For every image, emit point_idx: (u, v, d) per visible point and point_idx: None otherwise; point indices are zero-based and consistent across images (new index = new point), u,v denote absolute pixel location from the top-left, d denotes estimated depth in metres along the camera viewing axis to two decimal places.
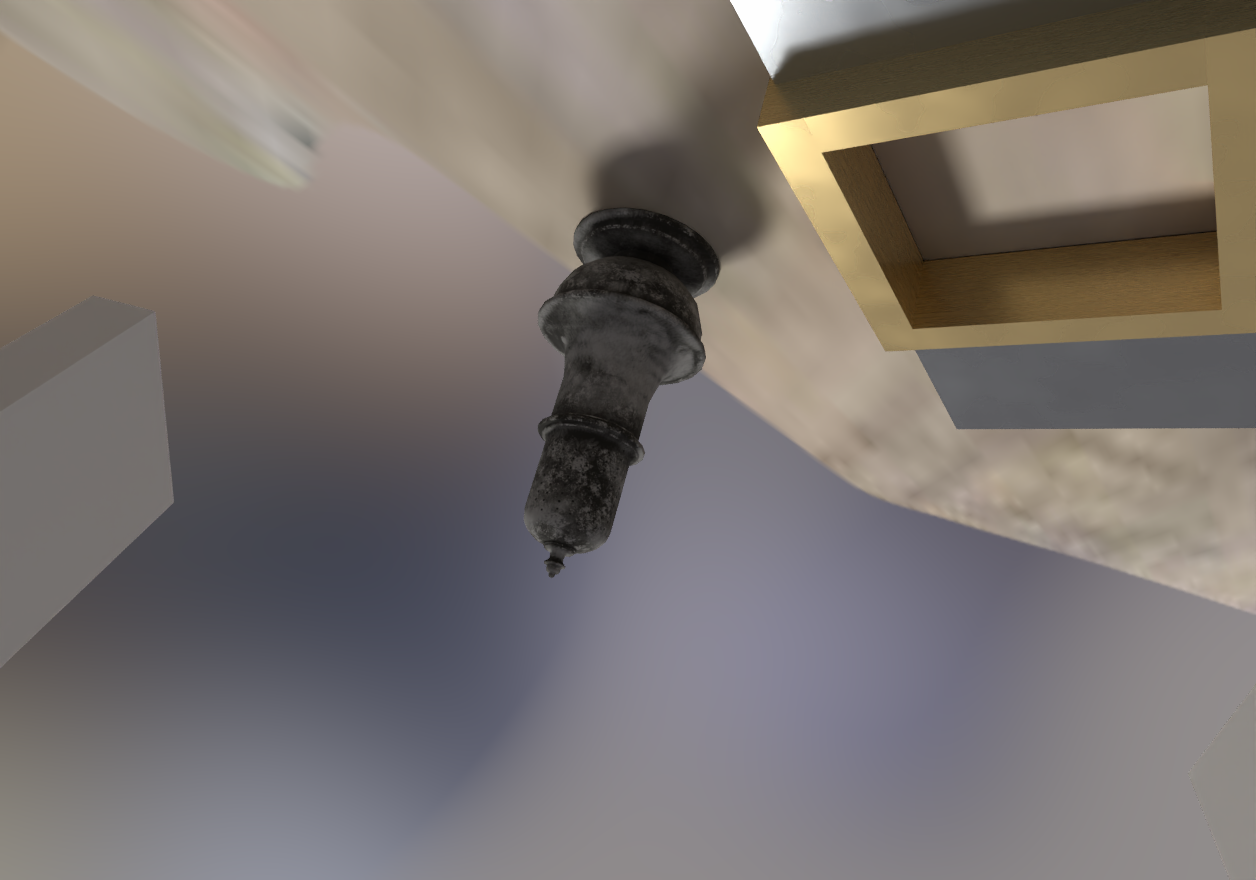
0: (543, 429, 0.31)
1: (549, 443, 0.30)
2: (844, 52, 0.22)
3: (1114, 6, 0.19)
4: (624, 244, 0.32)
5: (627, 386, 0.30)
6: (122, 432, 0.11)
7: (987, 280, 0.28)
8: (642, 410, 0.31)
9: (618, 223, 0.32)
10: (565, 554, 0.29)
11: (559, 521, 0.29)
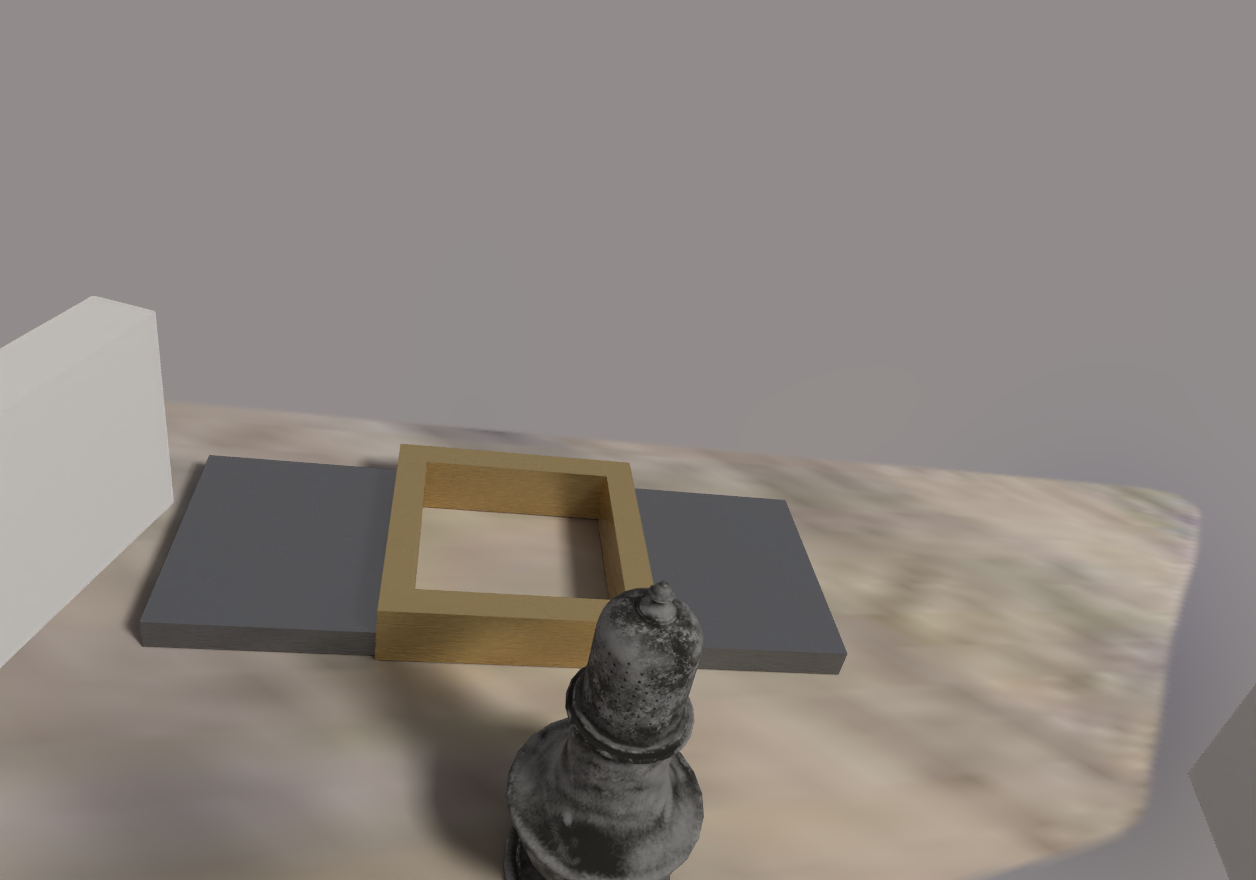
0: (590, 733, 0.25)
1: (590, 706, 0.25)
2: (368, 594, 0.36)
3: None
4: None
5: None
6: (122, 432, 0.11)
7: (614, 593, 0.39)
8: None
9: (516, 848, 0.30)
10: None
11: (609, 604, 0.25)
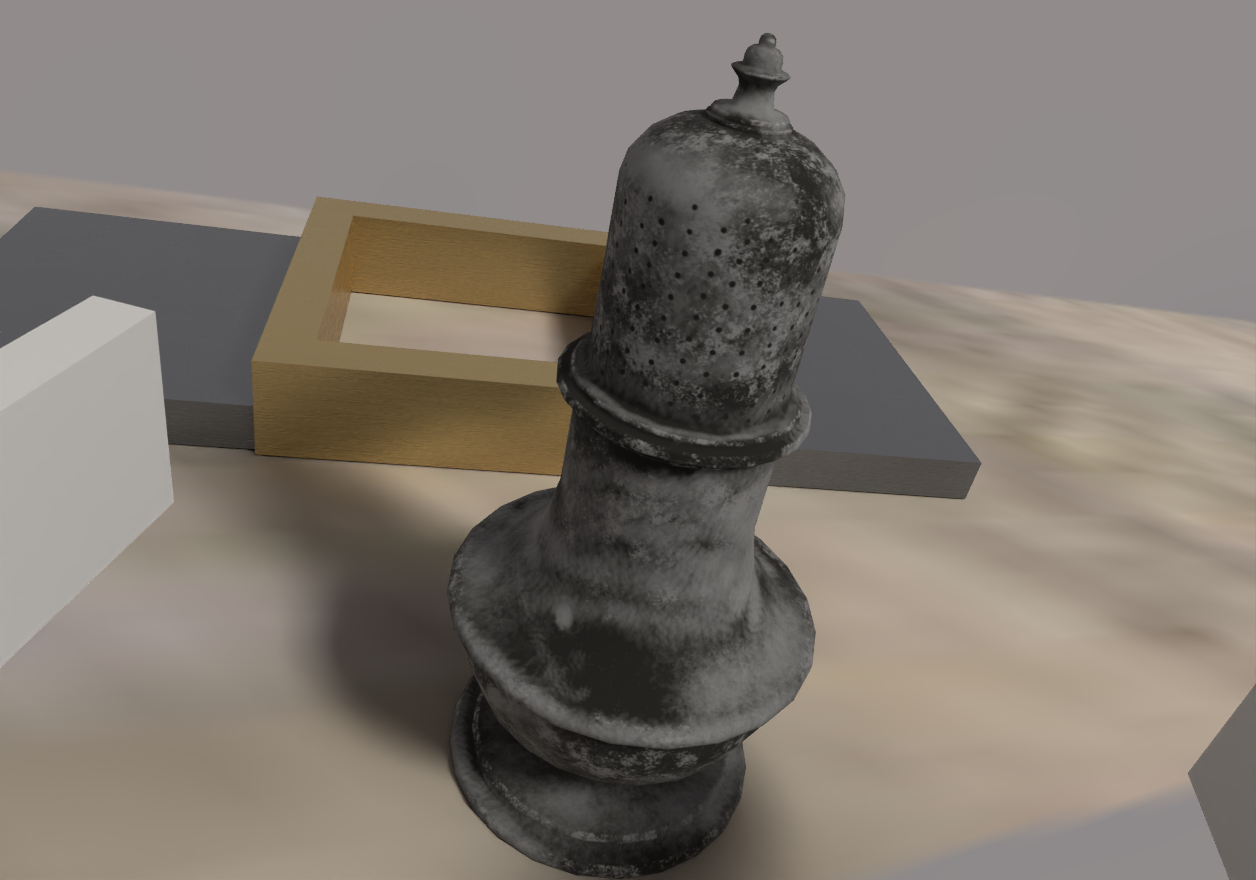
0: (608, 411, 0.12)
1: (608, 357, 0.12)
2: (249, 362, 0.23)
3: None
4: None
5: None
6: (122, 432, 0.11)
7: None
8: None
9: (474, 713, 0.17)
10: None
11: None
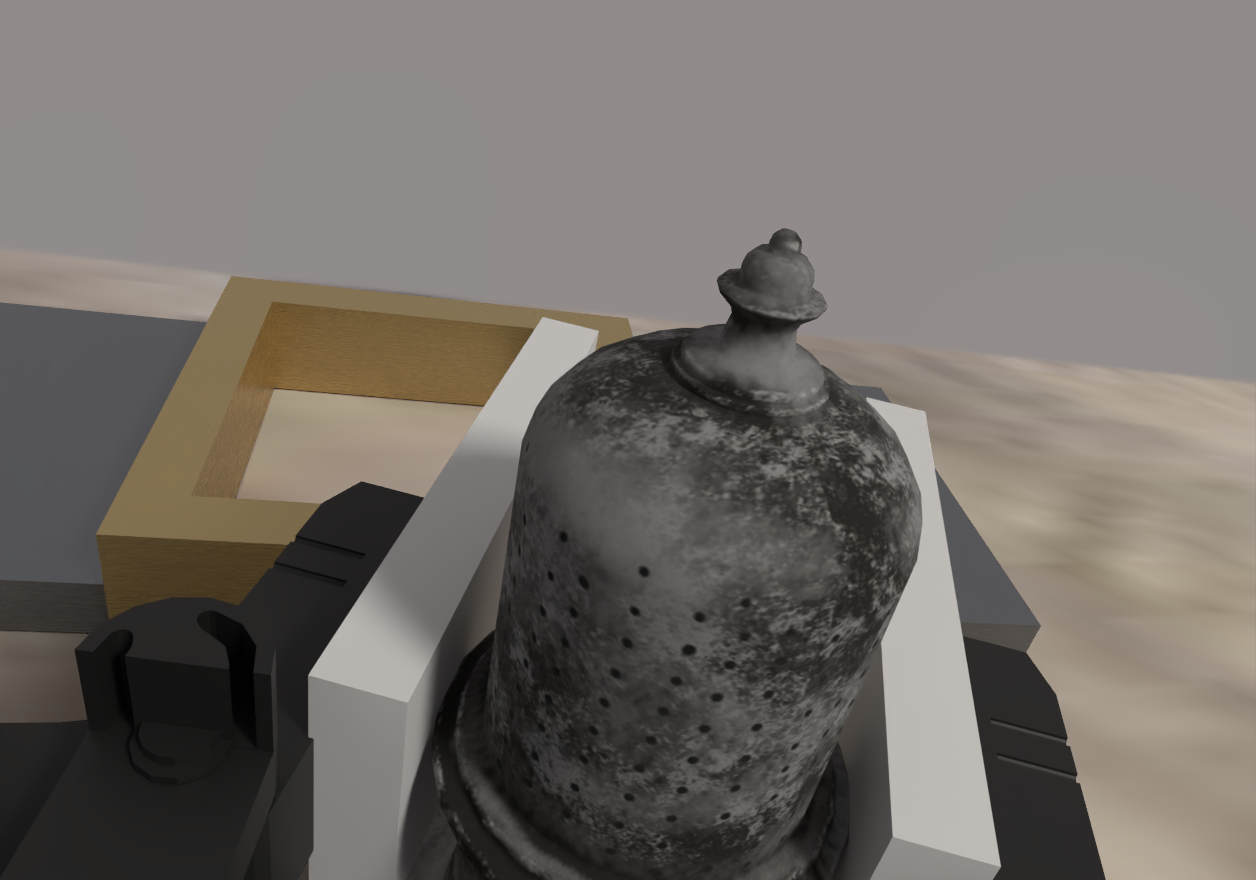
0: (505, 846, 0.07)
1: (507, 748, 0.07)
2: None
3: None
4: None
5: None
6: None
7: None
8: None
9: None
10: None
11: (567, 374, 0.07)
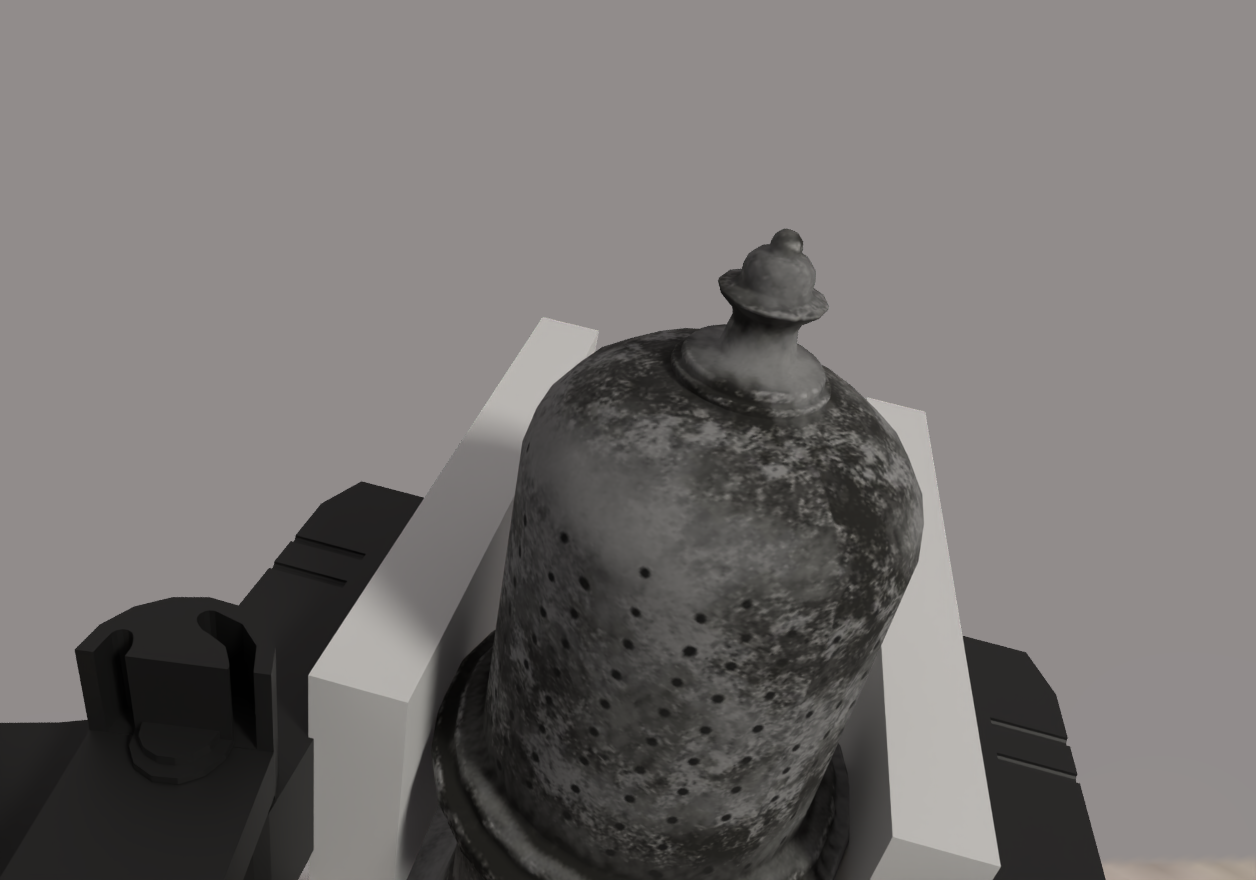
0: (505, 847, 0.07)
1: (505, 749, 0.07)
2: None
3: None
4: None
5: None
6: None
7: None
8: None
9: None
10: None
11: (567, 374, 0.07)
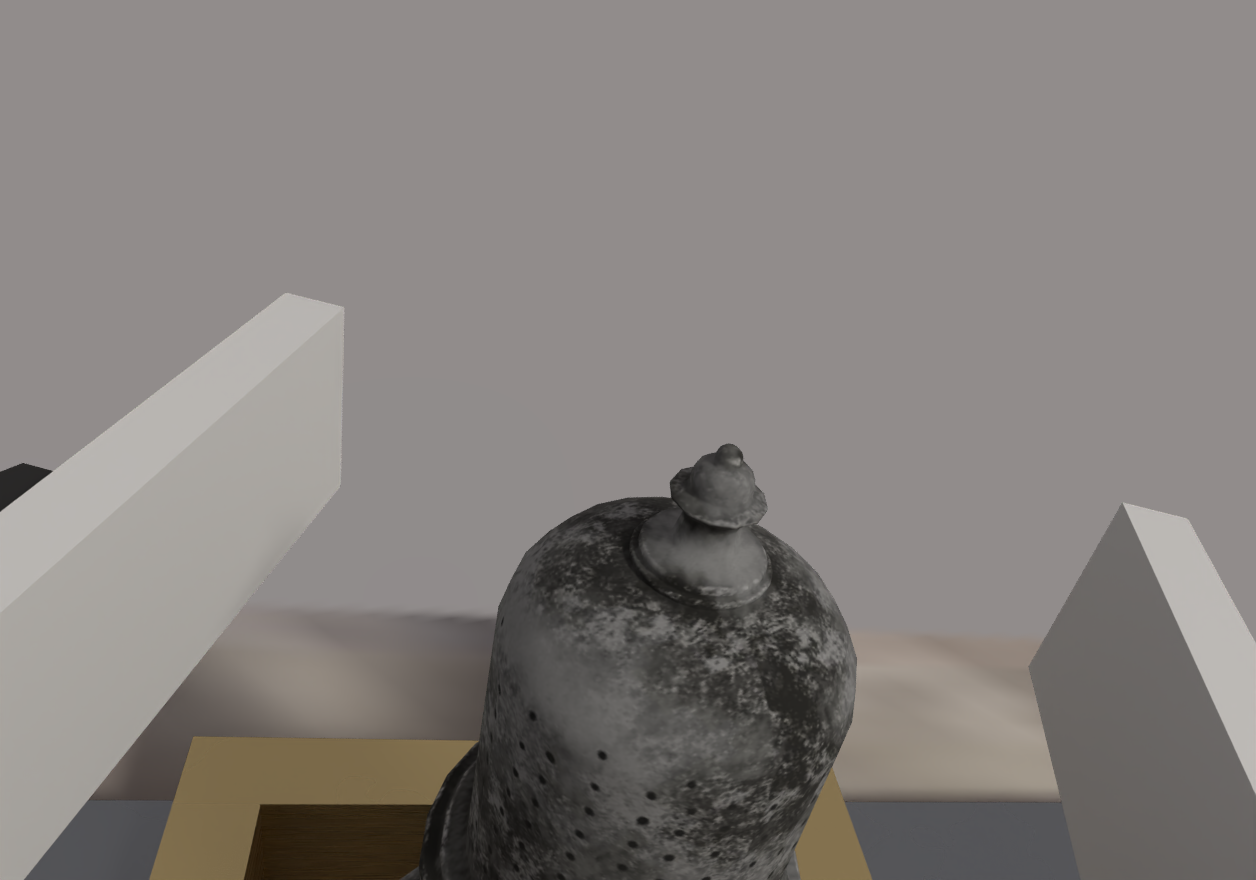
0: None
1: (486, 877, 0.08)
2: None
3: None
4: None
5: None
6: (314, 419, 0.12)
7: None
8: None
9: None
10: None
11: (539, 546, 0.07)
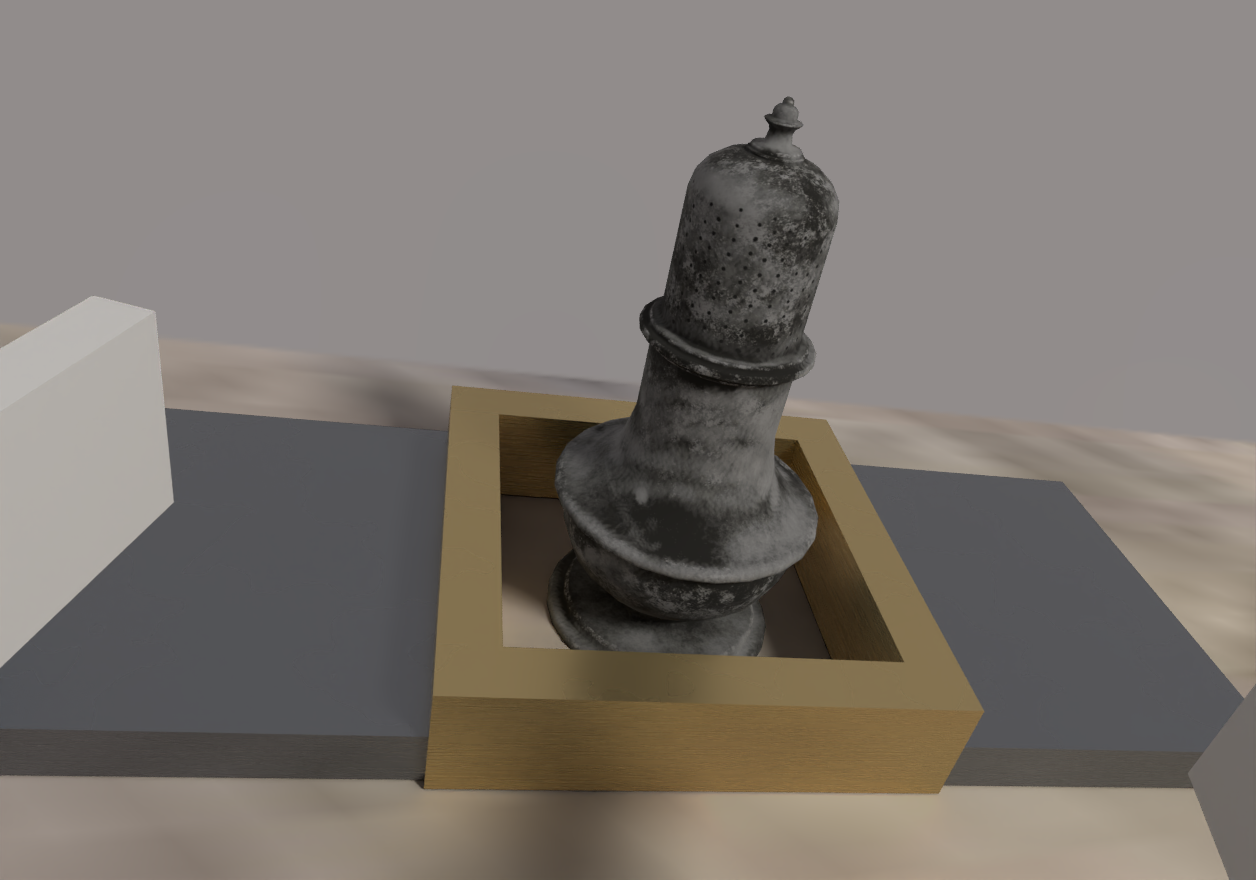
0: (678, 347, 0.18)
1: (678, 311, 0.18)
2: (408, 655, 0.19)
3: (444, 490, 0.23)
4: None
5: None
6: (122, 432, 0.11)
7: (850, 644, 0.22)
8: None
9: (564, 583, 0.22)
10: None
11: (704, 159, 0.18)
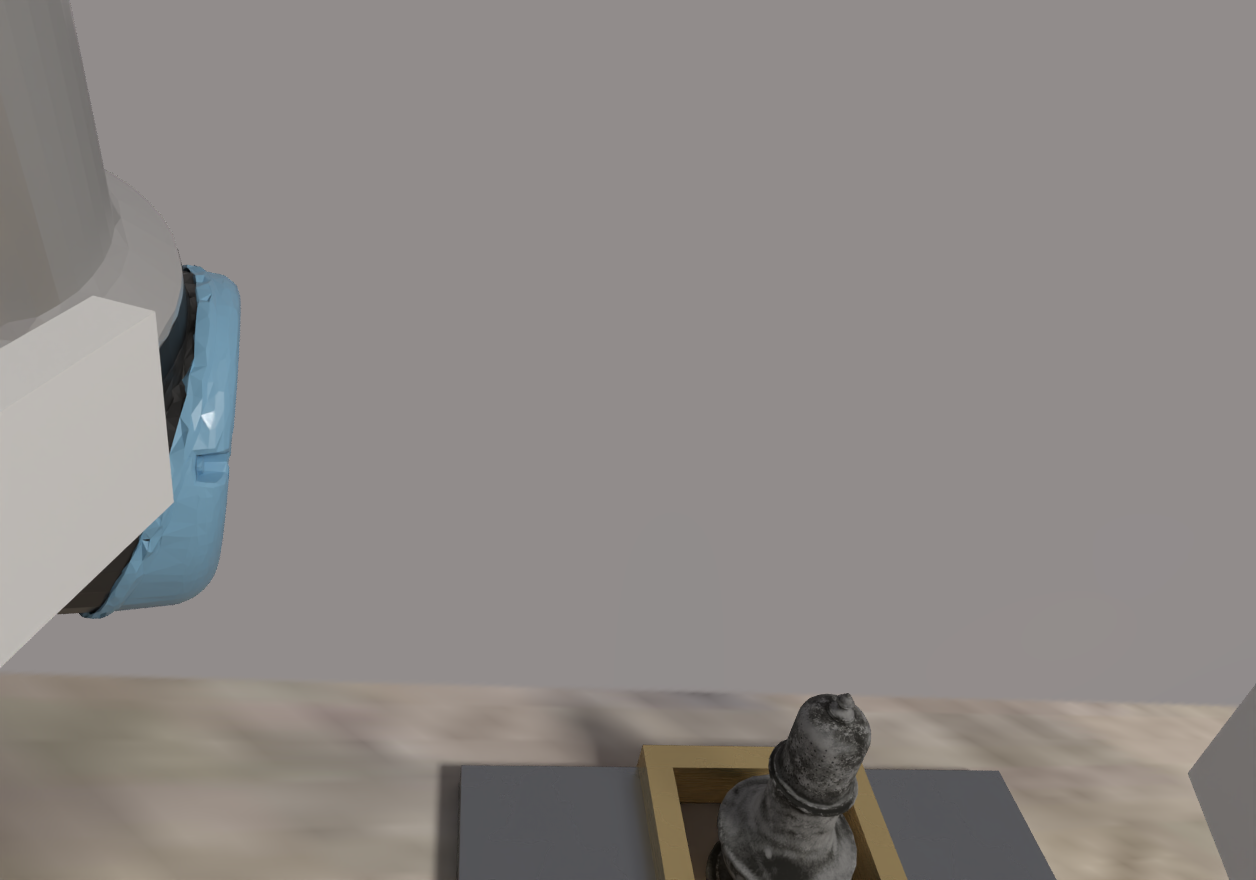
0: (792, 795, 0.36)
1: (791, 776, 0.36)
2: None
3: (645, 817, 0.42)
4: None
5: None
6: (122, 432, 0.11)
7: None
8: None
9: (715, 874, 0.41)
10: None
11: (805, 707, 0.36)
